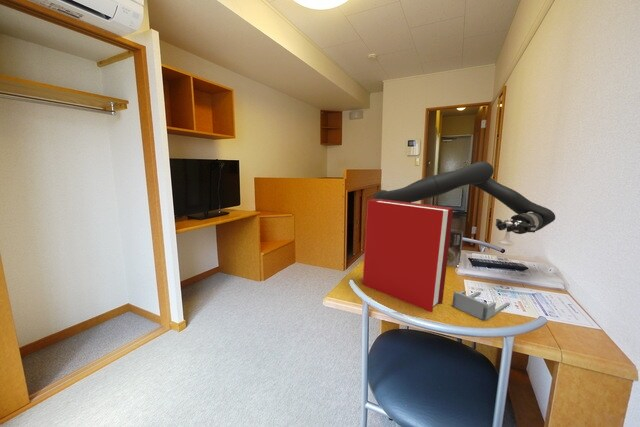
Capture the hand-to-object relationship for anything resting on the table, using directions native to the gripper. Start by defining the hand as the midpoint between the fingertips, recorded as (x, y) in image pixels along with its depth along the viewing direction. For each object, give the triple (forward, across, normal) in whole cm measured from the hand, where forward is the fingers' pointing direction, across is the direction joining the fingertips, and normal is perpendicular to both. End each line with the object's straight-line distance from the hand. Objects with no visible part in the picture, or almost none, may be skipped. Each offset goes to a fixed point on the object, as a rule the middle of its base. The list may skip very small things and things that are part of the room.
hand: (504, 228), depth 96 cm
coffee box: (-12, -25, +24) cm, 37 cm away
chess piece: (-4, 0, +7) cm, 8 cm away
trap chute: (+17, +3, +24) cm, 29 cm away
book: (+33, -17, +24) cm, 44 cm away
